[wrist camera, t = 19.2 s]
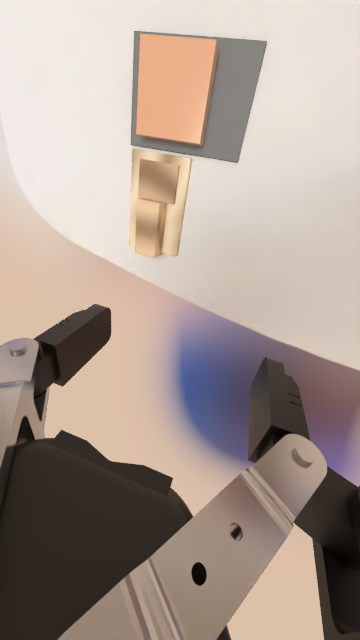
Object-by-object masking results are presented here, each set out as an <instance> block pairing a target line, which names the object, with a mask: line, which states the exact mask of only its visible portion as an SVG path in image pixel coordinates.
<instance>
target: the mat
mask: <svg viewBox="0 0 360 640" xmlns="http://www.w3.org/2000/svg"><path fill="white" fill-rule="evenodd" d="M140 34H152V35H164V36H177V37H190V38H202V39H215V40H217V44H218V48H219V52H218V58H217V64H216V70H215V76H214V82H213V88H212V94H211V100H210V106H209V112H208V118H207V124H206V129H205V135H204V141H203V147H200V146H194V145H188V144H181V143H175V142H169V141H162V140H156V139H150V138H143V137H141V136H139V135H137V134H136V126H137V102H138V77H139V52H140ZM266 44H267V41H258V40H245V39H232V38H219V37H206V36H193V35H180V34H167V33H154V32H141V31H134V57H133V90H132V122H131V145H136V146H142V147H148V148H154V149H160V150H166V151H172V152H178V153H184V154H190V155H196V156H203V157H209V158H215V159H221V160H227V161H233V162H238V159H239V155H240V151H241V147H242V142H243V138H244V134H245V130H246V126H247V122H248V118H249V114H250V110H251V105H252V101H253V97H254V93H255V89H256V85H257V81H258V77H259V72H260V68H261V64H262V60H263V56H264V52H265V48H266Z"/></svg>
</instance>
